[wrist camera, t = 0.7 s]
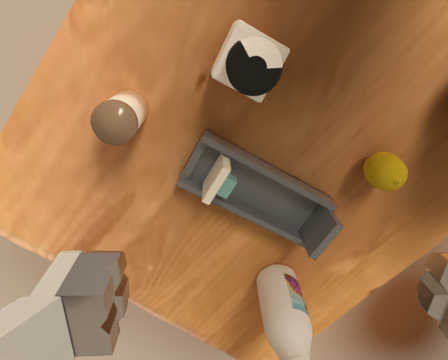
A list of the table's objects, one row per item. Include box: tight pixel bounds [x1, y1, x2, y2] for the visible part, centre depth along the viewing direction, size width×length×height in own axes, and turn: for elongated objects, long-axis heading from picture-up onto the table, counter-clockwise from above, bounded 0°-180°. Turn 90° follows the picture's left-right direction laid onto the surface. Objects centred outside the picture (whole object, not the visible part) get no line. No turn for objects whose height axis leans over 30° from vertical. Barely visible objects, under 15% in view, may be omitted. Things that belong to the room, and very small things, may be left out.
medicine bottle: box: [211, 20, 290, 103], centre depth 39 cm, size 7×7×12 cm
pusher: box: [202, 152, 237, 205], centre depth 47 cm, size 6×3×6 cm, turn 150°
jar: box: [91, 89, 149, 145], centre depth 43 cm, size 5×5×9 cm
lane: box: [177, 129, 343, 260], centre depth 49 cm, size 9×24×8 cm, turn 60°
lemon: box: [363, 152, 408, 191], centre depth 48 cm, size 6×6×8 cm
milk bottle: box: [256, 264, 312, 360], centre depth 53 cm, size 8×8×20 cm
